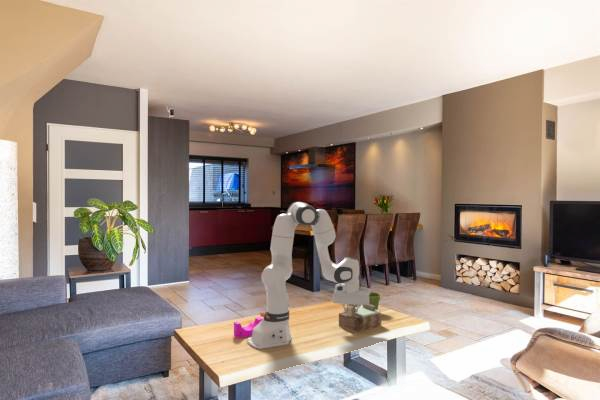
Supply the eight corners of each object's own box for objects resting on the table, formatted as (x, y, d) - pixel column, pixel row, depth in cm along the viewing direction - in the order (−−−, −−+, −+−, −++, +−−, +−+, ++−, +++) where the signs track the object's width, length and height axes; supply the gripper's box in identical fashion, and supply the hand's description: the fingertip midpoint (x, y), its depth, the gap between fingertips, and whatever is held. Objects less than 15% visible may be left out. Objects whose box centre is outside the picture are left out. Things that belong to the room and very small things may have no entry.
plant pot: (378, 309, 239) (379, 291, 239) (382, 315, 227) (383, 297, 227) (360, 308, 239) (360, 291, 239) (363, 315, 227) (363, 296, 227)
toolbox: (354, 333, 198) (355, 319, 197) (338, 326, 208) (338, 313, 208) (381, 325, 209) (381, 313, 209) (364, 319, 220) (364, 307, 220)
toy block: (257, 329, 203) (257, 315, 203) (263, 332, 198) (263, 318, 198) (232, 334, 195) (232, 320, 195) (236, 338, 190) (236, 324, 190)
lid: (363, 317, 201) (363, 310, 201) (347, 311, 212) (347, 305, 212) (380, 312, 208) (380, 306, 208) (364, 307, 219) (364, 301, 219)
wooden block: (350, 328, 202) (350, 306, 202) (346, 326, 205) (346, 304, 205) (354, 326, 204) (355, 305, 204) (350, 325, 207) (351, 303, 207)
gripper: (370, 286, 206) (370, 311, 206) (333, 284, 209) (333, 309, 209) (370, 289, 199) (370, 314, 200) (332, 287, 203) (332, 312, 203)
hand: (350, 311), depth 204 cm, fingers closed on wooden block, 4 cm apart
